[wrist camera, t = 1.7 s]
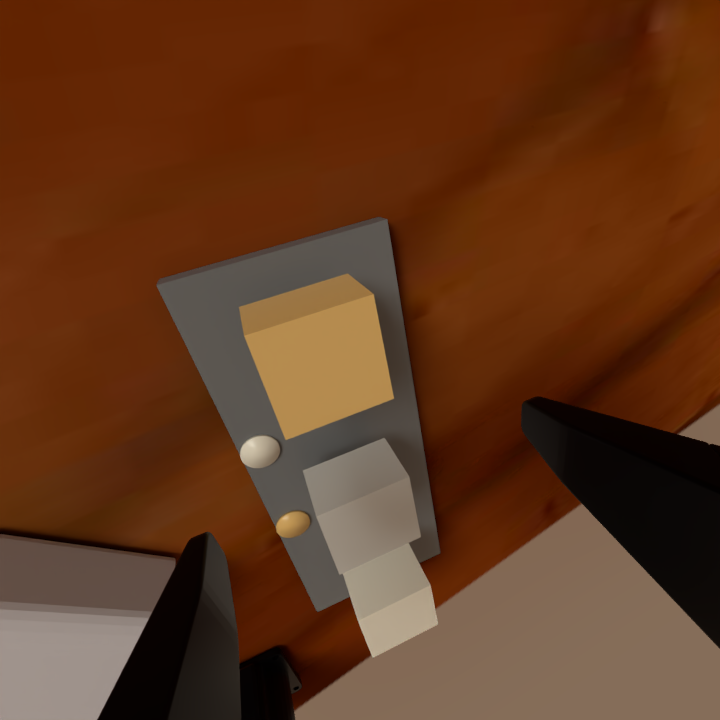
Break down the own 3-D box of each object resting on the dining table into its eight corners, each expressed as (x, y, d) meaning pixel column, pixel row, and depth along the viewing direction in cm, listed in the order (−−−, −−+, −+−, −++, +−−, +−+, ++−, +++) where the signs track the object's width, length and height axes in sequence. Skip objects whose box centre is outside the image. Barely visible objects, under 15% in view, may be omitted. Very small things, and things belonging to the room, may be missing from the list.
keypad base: (434, 542, 30) (441, 555, 29) (314, 598, 28) (317, 614, 27) (378, 216, 18) (389, 219, 17) (159, 278, 16) (155, 286, 15)
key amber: (368, 366, 18) (394, 398, 15) (274, 399, 17) (285, 440, 14) (347, 273, 16) (373, 294, 13) (238, 307, 15) (244, 335, 12)
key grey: (397, 495, 22) (421, 537, 20) (324, 526, 22) (339, 574, 19) (384, 437, 20) (409, 476, 18) (302, 470, 19) (316, 516, 17)
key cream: (416, 581, 27) (438, 624, 24) (357, 610, 26) (372, 657, 23) (408, 542, 25) (430, 585, 22) (342, 572, 24) (357, 620, 21)
